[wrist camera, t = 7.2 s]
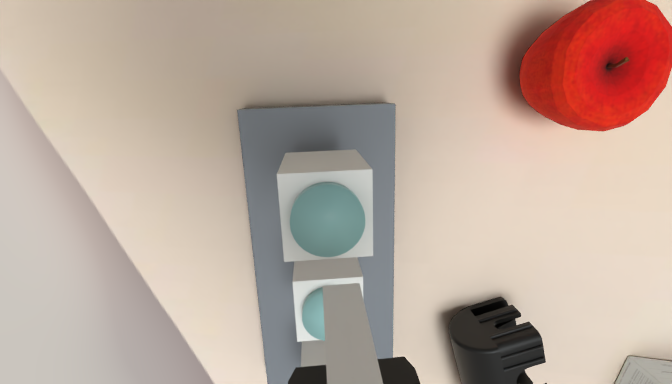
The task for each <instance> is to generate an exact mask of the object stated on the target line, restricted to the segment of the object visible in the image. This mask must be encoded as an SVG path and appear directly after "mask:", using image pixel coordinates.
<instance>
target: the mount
mask: <svg viewBox="0 0 672 384" xmlns="http://www.w3.org/2000/svg"><path fill="white" fill-rule="evenodd" d="M237 112H238V121H239V130H240V139H241V148H242V157H243V166H244V175H245V184H246V193H247V202H248V211H249V220H250V229H251V238H252V247H253V257H254V266H255V275H256V284H257V293H258V302H259V311H260V320H261V329H262V338H263V347H264V356H265V365H266V374H267V383H268V384H288V381H289V379H290V377H291V375H292V373H293V372H294V370H295V368H296V367H301V349H302V341H301V342H297V333H296V320H295V307H294V295H293V271H294V261H291V262H284V255H283V243H282V231H281V219H280V207H279V196H278V184H277V172H278V170H279V168H280V165H281V163H282V160H283V158H284V156H285V153H291V152H312V151H333V150H354V149H356V150H357V152H358V153H359V154H360V155H361V156H362V157H363V159H364V160H365V161H366V162H367V163H368V165H369V166H370V167H371V168H372V169H373V256H366V257H357V258H358V261H359V265H360V268H361V272H362V275H363V300H364V304H365V309H366V313H367V317H368V321H369V326H370V330H371V334H372V338H373V343H374V347H375V351H376V355H377V359H384V358H393V286H394V190H395V104H394V103H371V104H345V105H320V106H294V107H269V108H244V109H239V110H237Z"/></svg>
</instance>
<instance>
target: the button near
mask: <svg viewBox="0 0 672 384" xmlns="http://www.w3.org/2000/svg"><path fill="white" fill-rule="evenodd" d="M277 184H278V196H279V207H280V219H281V231H282V243H283V255H284V262H291V261H306V260H321V259H336V258H351V257H366V256H373V169H372V168H371V167H370V166H369V165H368V163H367V162H366V161H365V160H364V159H363V157H362V156H361V155H360V154H359V153H358V152H357V150H356V149H354V150H333V151H312V152H291V153H285V156H284V158H283V160H282V163H281V165H280V168H279V170H278V172H277Z"/></svg>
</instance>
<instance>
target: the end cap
mask: <svg viewBox="0 0 672 384" xmlns="http://www.w3.org/2000/svg"><path fill="white" fill-rule="evenodd" d="M518 317H521V313H520V312H519V311H518V310H517V309H516V308H515V307H514V306H513V305H510V306H508V304H507V302H506V300H505V299H504V298H502V297H498V298H495V299H491V300H488V301H485V302H482V303H478V304H475V305H472V306H469V307H466V308H464V309H462V310H461V311H460V312H458V313H457V314H456V315H455V316H454V317H453V318H452V319H451V322H450V324H449V335H450V339H451V343H452V347H453V351H454V355H455V359H456V363H457V367H458V371H459V375H460V379H461V383H462V384H533V382H532V381H531V380H530V378H529V377H528V376H527V374H526V373H525V369H527V368H529V367H532V366H535V365H538V364H542V363H545V362H546V361H545V355H544V348H543V342H542V338H541V336H540V334H539V332H538V331H537V330H536V329H535V328H534V327H533V326H532V324H531V323H530V322H526V323H523V324H520V325H516V321H515V318H518ZM545 384H547V383H545Z"/></svg>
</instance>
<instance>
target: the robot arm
mask: <svg viewBox="0 0 672 384" xmlns="http://www.w3.org/2000/svg"><path fill="white" fill-rule="evenodd" d="M322 287H323V308H324V329H325V350H326V365H317V366H306V367H296V368H295V370H294V372H293V373H292V375H291V377H290V379H289V381H288V384H420V381H419V379H418V376H417V373H416V370H415V368H414V367H413V366H412V365H411V364H410V363H409V362H408V360H407V359H406V358H405V357H396V358H384V359H377V355H376V351H375V347H374V343H373V338H372V334H371V330H370V326H369V321H368V317H367V313H366V309H365V304H364V300H363V296H362V292H361V287H360V283H352V284H339V285H326V286H322Z"/></svg>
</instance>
